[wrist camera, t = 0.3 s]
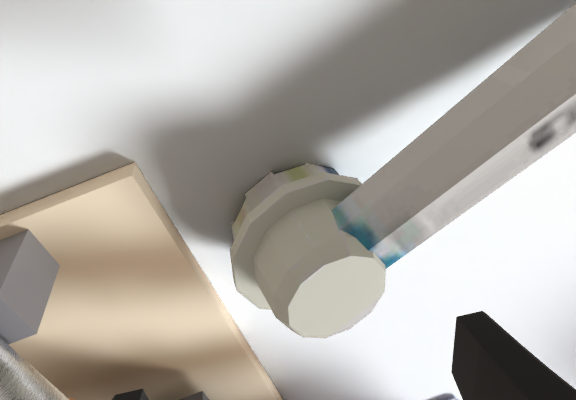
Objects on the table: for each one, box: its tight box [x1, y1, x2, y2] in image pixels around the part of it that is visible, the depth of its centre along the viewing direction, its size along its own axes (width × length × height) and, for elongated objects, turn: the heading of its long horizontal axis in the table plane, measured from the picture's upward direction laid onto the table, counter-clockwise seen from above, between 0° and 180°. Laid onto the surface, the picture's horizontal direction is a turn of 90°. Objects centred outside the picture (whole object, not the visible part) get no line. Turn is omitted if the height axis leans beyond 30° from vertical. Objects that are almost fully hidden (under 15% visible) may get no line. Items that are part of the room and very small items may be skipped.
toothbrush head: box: [230, 3, 576, 338], centre depth 17 cm, size 5×7×25 cm
